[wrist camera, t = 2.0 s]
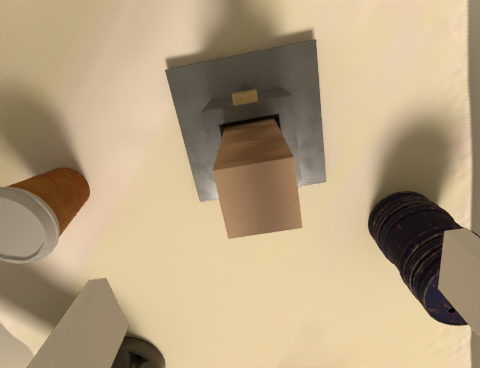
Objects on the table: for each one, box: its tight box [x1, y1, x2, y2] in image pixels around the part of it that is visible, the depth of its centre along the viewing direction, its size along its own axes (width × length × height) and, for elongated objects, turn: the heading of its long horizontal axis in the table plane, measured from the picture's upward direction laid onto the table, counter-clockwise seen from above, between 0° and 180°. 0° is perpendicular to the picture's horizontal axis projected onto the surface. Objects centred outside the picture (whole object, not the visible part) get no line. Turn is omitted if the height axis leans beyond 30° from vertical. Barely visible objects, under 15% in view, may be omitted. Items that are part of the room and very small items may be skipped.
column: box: [213, 115, 302, 239], centre depth 28 cm, size 5×5×20 cm
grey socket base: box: [165, 40, 326, 202], centre depth 34 cm, size 18×18×10 cm
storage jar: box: [368, 191, 480, 326], centre depth 37 cm, size 10×10×15 cm
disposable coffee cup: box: [0, 168, 90, 264], centre depth 37 cm, size 10×10×12 cm
